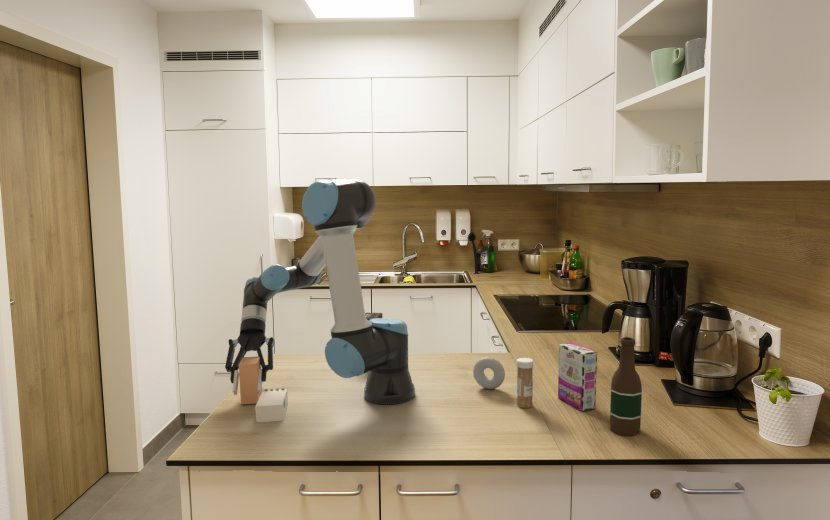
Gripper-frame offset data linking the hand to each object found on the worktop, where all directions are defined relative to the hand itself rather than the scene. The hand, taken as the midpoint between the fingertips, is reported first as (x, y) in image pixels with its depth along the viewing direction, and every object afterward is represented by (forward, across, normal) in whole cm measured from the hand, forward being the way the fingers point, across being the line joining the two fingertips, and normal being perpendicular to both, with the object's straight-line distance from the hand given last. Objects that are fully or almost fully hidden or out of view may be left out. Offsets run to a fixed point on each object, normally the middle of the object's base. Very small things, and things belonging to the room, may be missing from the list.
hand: (247, 392), depth 170 cm
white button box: (+8, -8, +2) cm, 11 cm away
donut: (+1, -72, -4) cm, 72 cm away
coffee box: (-23, -37, -29) cm, 52 cm away
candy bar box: (+12, -94, +6) cm, 95 cm away
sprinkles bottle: (+11, -79, +6) cm, 80 cm away
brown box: (0, -1, -5) cm, 5 cm away
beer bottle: (+25, -99, +19) cm, 104 cm away
